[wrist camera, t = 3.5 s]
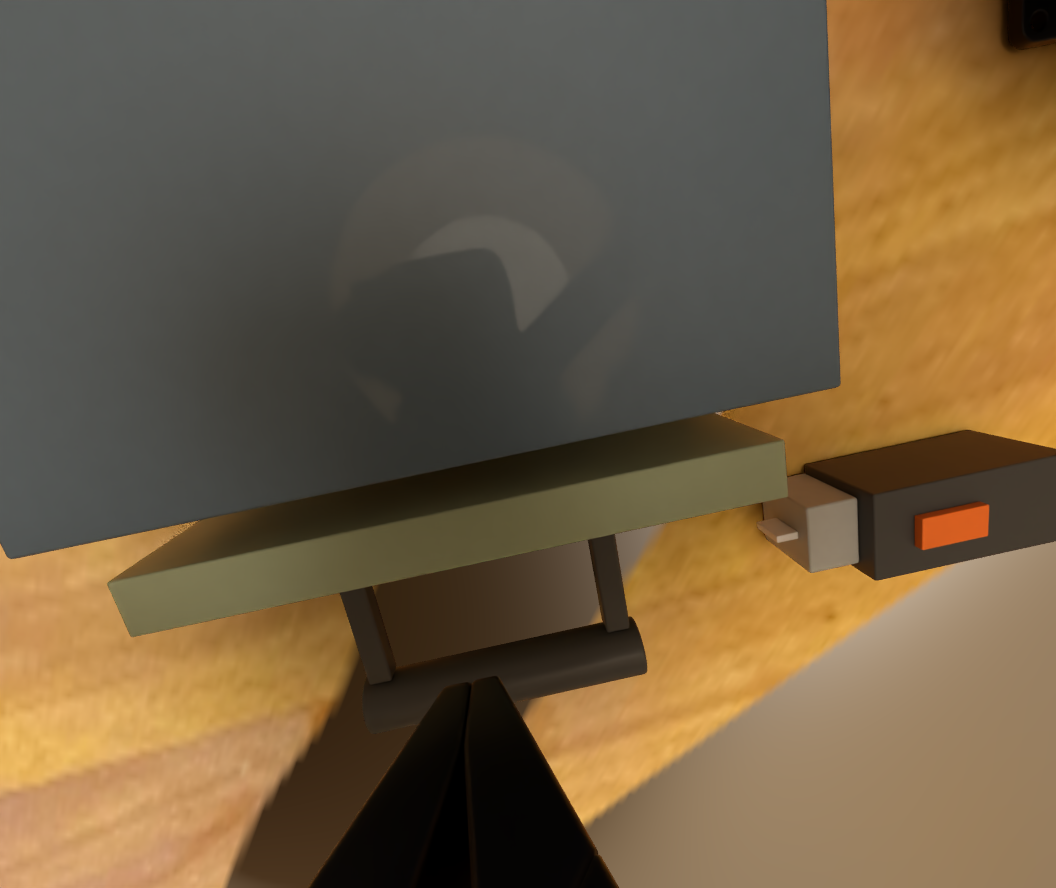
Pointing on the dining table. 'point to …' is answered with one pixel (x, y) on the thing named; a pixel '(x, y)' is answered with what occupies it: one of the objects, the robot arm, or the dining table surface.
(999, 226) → the dining table surface
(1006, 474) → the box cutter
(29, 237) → the cabinet
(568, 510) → the drawer
